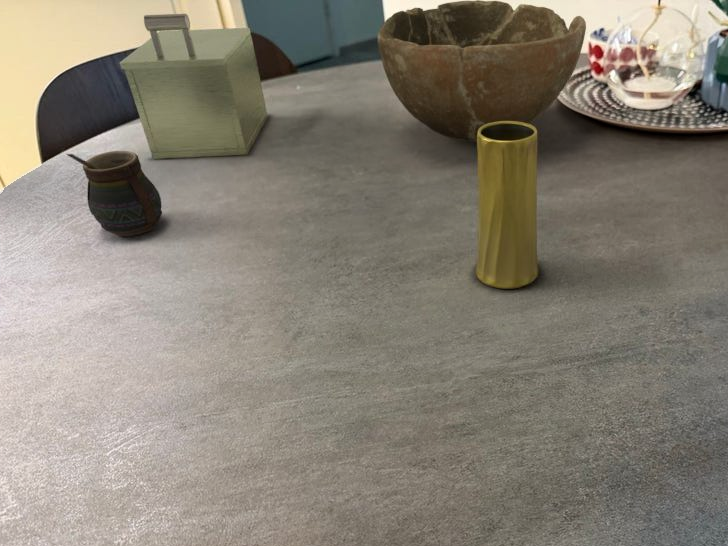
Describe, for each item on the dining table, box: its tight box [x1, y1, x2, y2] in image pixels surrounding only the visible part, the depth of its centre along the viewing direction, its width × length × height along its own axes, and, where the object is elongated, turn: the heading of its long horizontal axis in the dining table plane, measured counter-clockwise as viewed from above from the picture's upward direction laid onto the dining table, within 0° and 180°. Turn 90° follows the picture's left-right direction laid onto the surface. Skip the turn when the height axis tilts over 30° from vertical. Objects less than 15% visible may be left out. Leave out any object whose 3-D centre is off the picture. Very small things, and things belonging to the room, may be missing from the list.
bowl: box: [376, 0, 587, 142], centre depth 96 cm, size 28×27×15 cm
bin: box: [123, 33, 269, 160], centre depth 98 cm, size 16×13×12 cm
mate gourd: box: [66, 150, 163, 237], centre depth 76 cm, size 7×8×10 cm
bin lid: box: [119, 13, 252, 70], centre depth 92 cm, size 17×13×6 cm
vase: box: [475, 121, 539, 290], centre depth 65 cm, size 6×6×14 cm
